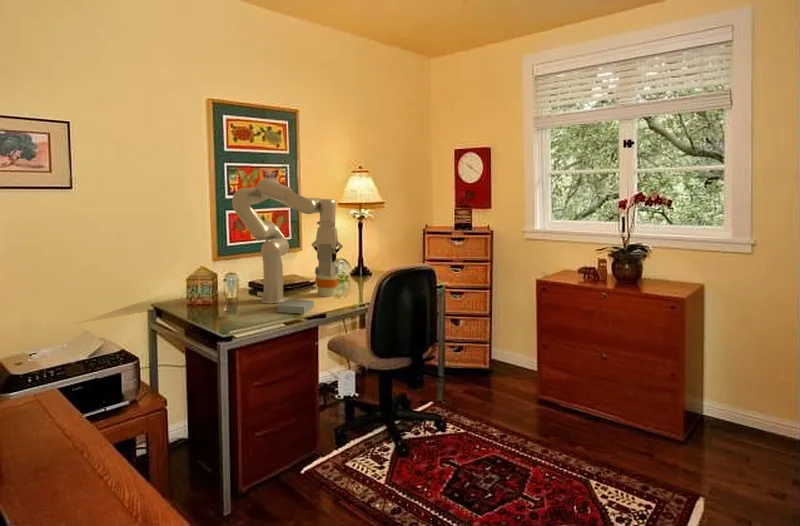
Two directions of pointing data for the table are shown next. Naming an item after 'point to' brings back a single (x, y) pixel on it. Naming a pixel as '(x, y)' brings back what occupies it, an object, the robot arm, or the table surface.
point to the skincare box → (326, 260)
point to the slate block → (296, 306)
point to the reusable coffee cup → (326, 283)
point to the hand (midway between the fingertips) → (326, 260)
